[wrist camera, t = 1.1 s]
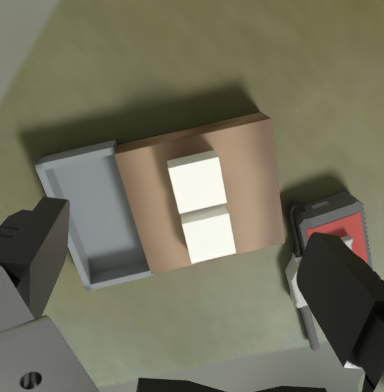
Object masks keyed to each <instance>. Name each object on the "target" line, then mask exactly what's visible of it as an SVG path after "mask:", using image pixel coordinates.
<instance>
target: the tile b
mask: <svg viewBox="0 0 384 392" xmlns="http://www.w3.org/2000/svg"><path fill="white" fill-rule="evenodd" d="M180 216H181V222H182V227H183V231H184V235H185V239H186V243H187V247H188V251H189V255H190V259H191V263H192V264H193V263H197V262H201V261H205V260H209V259H214V258H218V257H222V256H226V255H231V254H235V253H236V250H235V244H234V239H233V233H232V228H231V222H230V217H229V213H228V210H227V208H226V206H225V204H220V205H216V206H211V207H207V208H203V209H199V210H194V211H190V212H186V213H181V214H180Z"/></svg>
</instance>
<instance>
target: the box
mask: <svg viewBox="0 0 384 392" xmlns="http://www.w3.org/2000/svg"><path fill="white" fill-rule="evenodd" d="M116 148H117V142H116V140H112V141H107V142H103V143H99V144H94V145H90V146H86V147H81V148H77V149H73V150H68V151H64V152H60V153H55V154H51V155H46V156H43V157H42V158H41V159H40V160H39V161H38V162H37V163H36V164H35V165H34V166H35V168H36V170H37V173H38V175H39V178H40V180H41V183H42V185H43V187H44V190H45V192H46V195H47V197H52V198H60V199H68V200H69V201H70V216H69V232H68V248H69V251H70V253H71V255H72V258H73V260H74V263H75V265H76V268H77V270H78V272H79V275H80V277H81V280H82V282H83V285H84V287H85V289H86V291H89V290H94V289H98V288H102V287H106V286H110V285H115V284H119V283H123V282H127V281H132V280H136V279H140V278H144V277H149V276H153V274H151V272H150V269H149V266H148V262H147V259H146V256H145V253H144V249H143V246H142V243H141V240H140V236H139V233H138V230H137V227H136V224H135V220H134V217H133V214H132V211H131V207H130V204H129V201H128V198H127V194H126V191H125V188H124V185H123V181H122V178H121V175H120V172H119V169H118V165H117V162H116V159H115V156H114V154H115V151H116Z"/></svg>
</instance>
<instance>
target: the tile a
mask: <svg viewBox="0 0 384 392" xmlns="http://www.w3.org/2000/svg"><path fill="white" fill-rule="evenodd" d="M167 164H168V170H169V174H170V178H171V182H172V186H173V190H174V194H175V198H176V202H177V207H178V211H179V214H181V213H185V212H189V211H194V210H198V209H202V208H206V207H211V206H215V205H219V204H223V203H227V200H226V195H225V189H224V184H223V178H222V173H221V167H220V162H219V157H218V155H217V153H216V152H215V150H212V151H207V152H203V153H199V154H194V155H190V156H186V157H181V158H177V159H173V160H168V161H167Z"/></svg>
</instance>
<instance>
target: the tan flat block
mask: <svg viewBox="0 0 384 392" xmlns="http://www.w3.org/2000/svg"><path fill="white" fill-rule="evenodd" d="M212 150H215V152H216V153H217V155H218V157H219V162H220V167H221V173H222V178H223V184H224V189H225V195H226V200H227V203H223V204H225V206H226V208H227V210H228V213H229V217H230V222H231V228H232V233H233V239H234V244H235V250H236V253H235V254H231V255H236V254H240V253H244V252H248V251H253V250H257V249H261V248H265V247H270V246H274V245H278V244H282V243H285V237H284V228H283V219H282V210H281V202H280V193H279V184H278V175H277V166H276V157H275V148H274V139H273V130H272V122H271V118H270V117H268V116H266V115H265V114H263V113H261V112H259V113H255V114H250V115H246V116H241V117H237V118H233V119H228V120H224V121H220V122H215V123H211V124H207V125H202V126H198V127H194V128H189V129H185V130H181V131H176V132H172V133H168V134H163V135H159V136H154V137H150V138H146V139H141V140H137V141H133V142H128V143H124V144H120V145H117V148H116V151H115V154H114V156H115V159H116V162H117V165H118V169H119V172H120V175H121V178H122V181H123V185H124V188H125V191H126V194H127V198H128V201H129V204H130V207H131V211H132V214H133V217H134V220H135V224H136V227H137V230H138V233H139V236H140V240H141V243H142V246H143V249H144V253H145V256H146V259H147V262H148V266H149V269H150V272H151V274H155V273H160V272H164V271H168V270H172V269H176V268H181V267H185V266H189V265H193V264H198V263H202V262H206V261H210V260H215V259H219V258H223V257H227V256H231V255H226V256H222V257H218V258H214V259H209V260H205V261H201V262H197V263H193V264H192V263H191V259H190V255H189V251H188V247H187V243H186V239H185V235H184V231H183V227H182V222H181V216H180V214H179V211H178V207H177V202H176V198H175V194H174V190H173V186H172V182H171V178H170V174H169V170H168V164H167V161H168V160H173V159H177V158H181V157H186V156H190V155H194V154H199V153H203V152H207V151H212ZM219 205H220V204H219ZM215 206H216V205H215ZM206 208H207V207H206ZM202 209H203V208H202ZM198 210H199V209H198ZM189 212H190V211H189ZM185 213H186V212H185Z"/></svg>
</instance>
